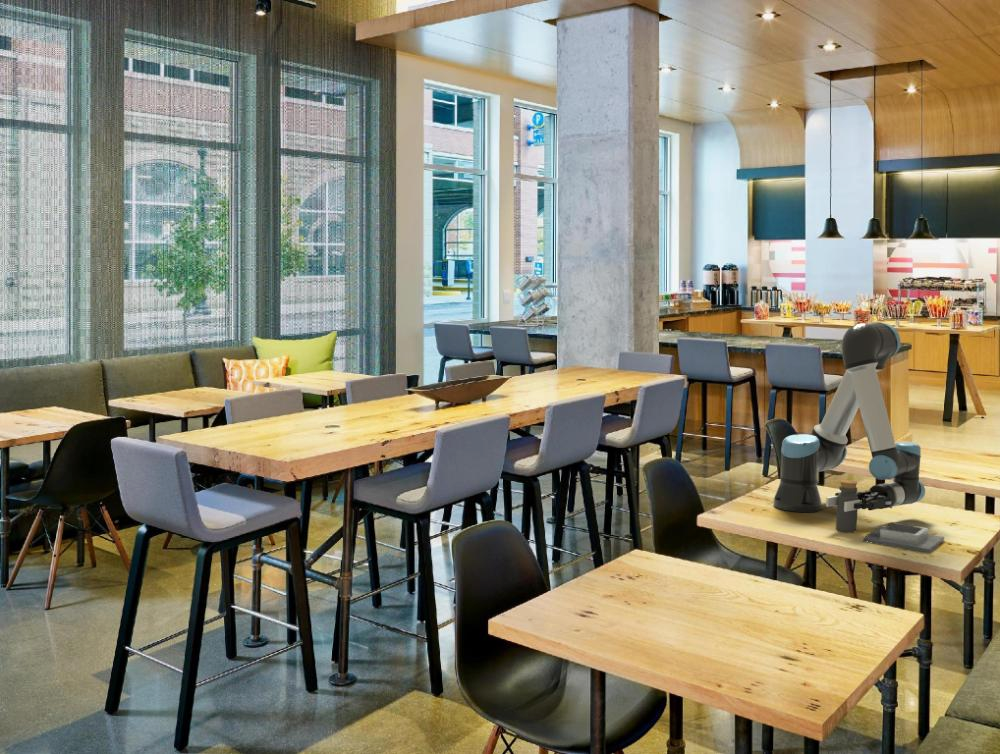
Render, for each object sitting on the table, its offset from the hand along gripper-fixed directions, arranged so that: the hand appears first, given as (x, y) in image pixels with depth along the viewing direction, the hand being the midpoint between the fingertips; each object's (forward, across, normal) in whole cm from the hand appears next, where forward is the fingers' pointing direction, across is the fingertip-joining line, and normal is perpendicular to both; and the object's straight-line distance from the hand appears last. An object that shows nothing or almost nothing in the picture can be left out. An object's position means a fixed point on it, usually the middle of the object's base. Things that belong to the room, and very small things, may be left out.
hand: (836, 504), depth 292 cm
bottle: (-5, 0, -9) cm, 10 cm away
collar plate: (-10, -16, -8) cm, 21 cm away
